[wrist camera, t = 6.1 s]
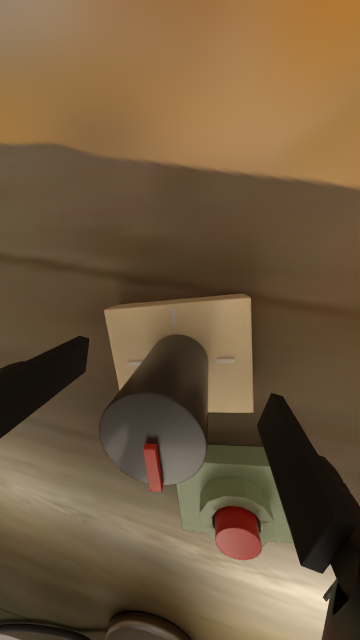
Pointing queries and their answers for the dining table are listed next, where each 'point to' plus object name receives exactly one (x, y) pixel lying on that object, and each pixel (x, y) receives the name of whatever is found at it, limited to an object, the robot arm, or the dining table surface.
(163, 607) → the dining table surface
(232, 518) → the button
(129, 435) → the dimmer knob
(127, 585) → the dining table surface
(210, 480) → the switch box
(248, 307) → the dimmer panel
